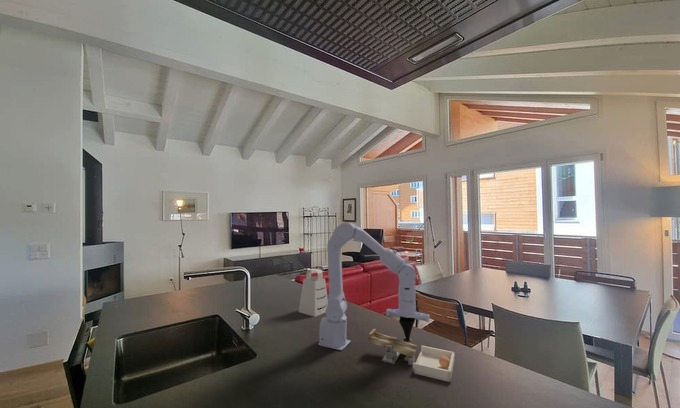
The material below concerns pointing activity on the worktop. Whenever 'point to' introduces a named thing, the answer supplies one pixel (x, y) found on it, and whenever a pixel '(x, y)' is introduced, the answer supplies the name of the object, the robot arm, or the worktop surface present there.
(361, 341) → the worktop surface
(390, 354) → the pivot base
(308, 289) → the grater
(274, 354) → the worktop surface
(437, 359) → the dish
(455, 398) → the worktop surface
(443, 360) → the egg
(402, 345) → the lever
